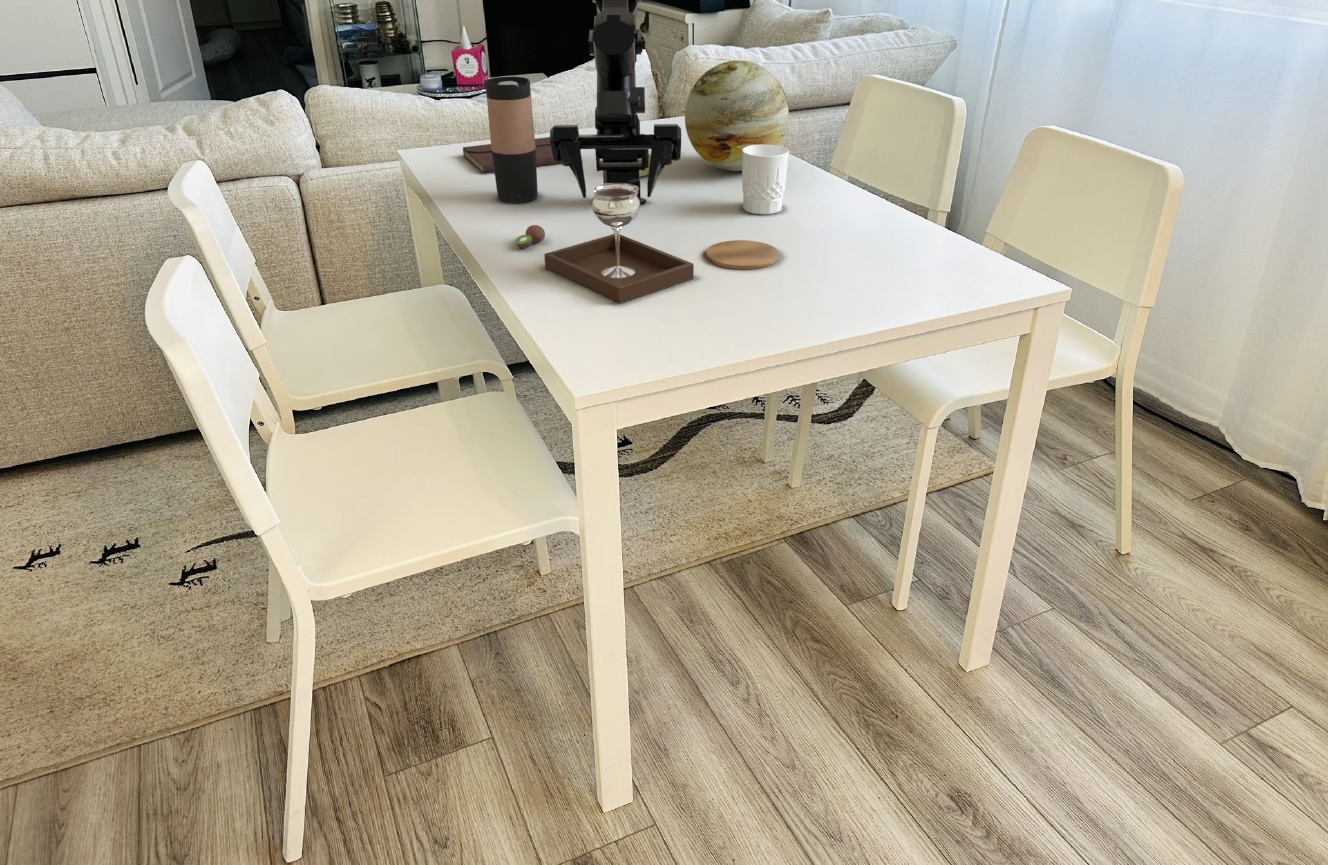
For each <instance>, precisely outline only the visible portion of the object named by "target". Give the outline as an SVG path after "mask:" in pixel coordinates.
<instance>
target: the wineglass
mask: <svg viewBox="0 0 1328 865" xmlns="http://www.w3.org/2000/svg"><path fill="white" fill-rule="evenodd" d="M591 192H592V194H593V199H592V200H591V210H592V212H593V214H594V216H595V218H596V219H597V220H599V221H600V222H601V223H602V224H603V225H605V226H609V227H610V229H611V230H613V234H614V236H615V249H616V262H617V265H616V266H610V267H606V268H604V269H603V270H602V271H601V273H602V274H603V275H604V276H607V277H611V278H624V277H629V276H631V275H633V274H634V273H635V269H633V268H632V267H629V266H623V265H619V248H620V235H621V232H620V231H621V230H622V229H623V228H624V227H625V226H627V225H629V224H631V222H633V221H634V220H635V219H636V217H638V214H639V212H640V208H641V204H640V200H639V198H638V196H637V194H638V192H639V188H638V187H637V186H635V185H632V184H627V183H607V184H604V183H601V184H598V185H595V186H594V187H592V189H591Z"/></svg>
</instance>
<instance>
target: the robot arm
mask: <svg viewBox="0 0 1328 865" xmlns="http://www.w3.org/2000/svg"><path fill="white" fill-rule="evenodd" d="M591 2H592V3H594V4H595V5H596V13H597V14H596V15H595V16H594V17H593V18H594V21H593V29H589V33H588V52H589V55H590V56H594V65H595V66H594V67H595V70H596V106H595V108H594V128H595V130H596V134H580V133H579V132H580V131H579V125H578V124H554V125H553V126H552V127H551V129H550V130H549V137H550V144H551V149H552V154H553V158H554V160H555V161H557V162H562V163H561V165H562V166H563V167H569V169H570V170H571V171H572V174H573V175H574V177H575V179H576V182H577V184H578V187H579V189H580V193H581V195H582V198H584V199H586V198H587V186H586V179H585V178H586V177H585V172H584V164H583V159H582V158H583V157H582V152H581V151H582V150H595V167H596V172H601V171H602V178H603V179H602V180H603V181H602V182H603V184H607V183H627V184H632V185H635V186H637V187H638V188H639V192H638V194H637V196H638V198H639V200H640V205H643V204H647V203H648V201H647V199H646V198H643V197H642V196H641V179H640V177H639V170H642V171H645V169H646V168H649V174H648V175H647V182H646V183H647V184H646V185H647V186H646V189H647V190H646V192H647V194H646V195H647V198H651V196H652V195H653V191H654V188H655V186H656V184H657V181H658V179H659V177H660V175H661V173H662V172H663V170H664V168H665V167H666V166H671V165H672V164H673V161H674V162H675V161H679V160H681V155H682V127H680V125H678V123H654V124H653V133H652V134H651V133H649V134H645V133H641V121H640V119H639V116H638V114H645V113H646V87H645V86H637V85H636V84H637V81H636V80H637V79H636V75H637V74H636V63H637V60H638V58H637V56H641V55H642V53H643V50H646V37H645V36H644V35H643V33H642V29H640V28H639V29H637V18H638V3H642V0H592V1H591ZM649 152H650V153H649ZM649 154H650V155H651V158H650V166H649ZM638 158H642V160H638Z"/></svg>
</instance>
